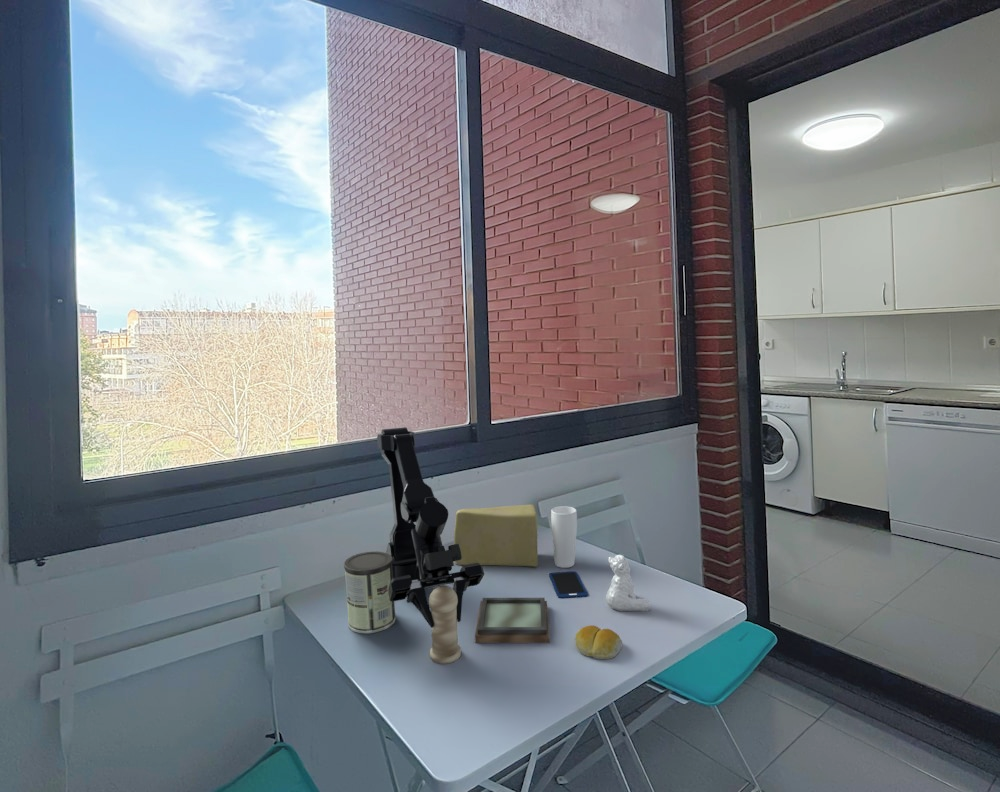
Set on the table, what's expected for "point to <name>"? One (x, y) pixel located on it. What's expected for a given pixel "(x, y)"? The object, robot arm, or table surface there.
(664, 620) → the table surface
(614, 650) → the bread roll
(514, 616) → the picture frame
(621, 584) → the sitting furry creature
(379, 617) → the coffee can
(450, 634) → the beige round-topped cylinder
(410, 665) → the table surface
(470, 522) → the cheese
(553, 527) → the drinking glass
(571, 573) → the cell phone
